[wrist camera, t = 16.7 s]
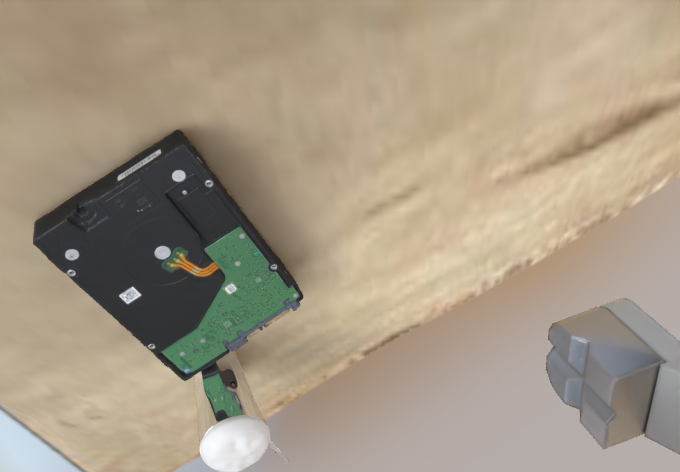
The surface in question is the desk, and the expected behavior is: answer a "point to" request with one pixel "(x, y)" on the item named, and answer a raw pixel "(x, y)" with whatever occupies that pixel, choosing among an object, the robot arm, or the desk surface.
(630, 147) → the desk surface
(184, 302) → the disk drive
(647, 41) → the desk surface
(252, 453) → the milkshake
